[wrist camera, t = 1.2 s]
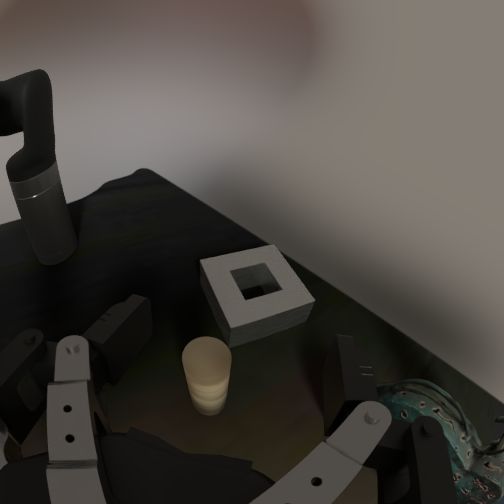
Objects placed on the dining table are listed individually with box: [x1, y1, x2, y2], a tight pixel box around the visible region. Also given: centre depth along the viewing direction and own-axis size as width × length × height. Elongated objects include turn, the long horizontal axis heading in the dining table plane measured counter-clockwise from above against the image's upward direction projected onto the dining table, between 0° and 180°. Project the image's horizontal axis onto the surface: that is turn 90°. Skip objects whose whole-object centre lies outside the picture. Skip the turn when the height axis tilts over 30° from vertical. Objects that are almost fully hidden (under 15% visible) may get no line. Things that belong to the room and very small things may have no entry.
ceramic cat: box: [376, 379, 504, 504], centre depth 16 cm, size 20×6×20 cm, turn 33°
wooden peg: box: [182, 337, 231, 416], centre depth 25 cm, size 4×4×12 cm
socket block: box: [200, 245, 315, 348], centre depth 39 cm, size 12×12×5 cm
